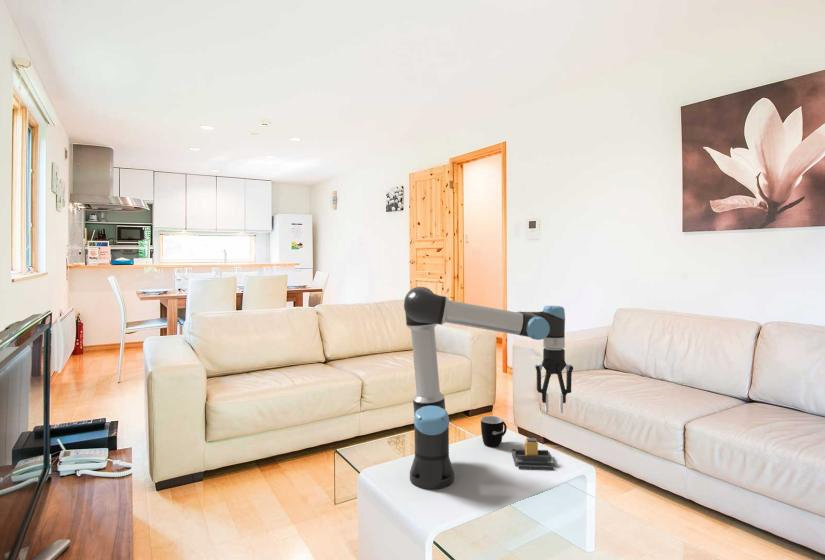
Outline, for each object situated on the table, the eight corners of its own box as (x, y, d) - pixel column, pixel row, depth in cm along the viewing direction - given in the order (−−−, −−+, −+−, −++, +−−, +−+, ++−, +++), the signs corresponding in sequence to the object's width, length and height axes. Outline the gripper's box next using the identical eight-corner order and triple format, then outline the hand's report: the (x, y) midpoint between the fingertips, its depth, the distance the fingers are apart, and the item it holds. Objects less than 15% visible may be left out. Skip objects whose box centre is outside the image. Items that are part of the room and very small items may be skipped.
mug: (490, 450, 185) (490, 424, 184) (476, 442, 192) (476, 418, 192) (513, 444, 191) (513, 419, 190) (498, 437, 198) (498, 413, 198)
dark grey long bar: (519, 469, 168) (519, 466, 168) (518, 467, 169) (518, 465, 169) (553, 470, 167) (553, 467, 167) (552, 468, 168) (552, 466, 168)
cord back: (512, 452, 183) (512, 449, 182) (512, 451, 184) (512, 448, 183) (541, 454, 181) (541, 451, 181) (541, 453, 182) (541, 450, 182)
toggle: (526, 458, 173) (526, 440, 173) (525, 454, 176) (525, 437, 176) (537, 458, 173) (537, 441, 172) (536, 455, 176) (536, 437, 176)
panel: (515, 466, 170) (515, 458, 170) (512, 454, 180) (512, 447, 180) (555, 467, 169) (555, 459, 169) (549, 455, 179) (549, 448, 179)
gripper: (531, 350, 169) (531, 414, 170) (581, 350, 168) (581, 415, 169) (527, 346, 177) (527, 407, 178) (576, 346, 175) (575, 408, 176)
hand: (553, 411), depth 173 cm, fingers open, 4 cm apart
